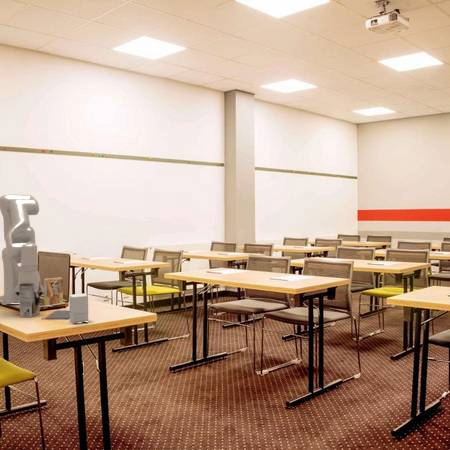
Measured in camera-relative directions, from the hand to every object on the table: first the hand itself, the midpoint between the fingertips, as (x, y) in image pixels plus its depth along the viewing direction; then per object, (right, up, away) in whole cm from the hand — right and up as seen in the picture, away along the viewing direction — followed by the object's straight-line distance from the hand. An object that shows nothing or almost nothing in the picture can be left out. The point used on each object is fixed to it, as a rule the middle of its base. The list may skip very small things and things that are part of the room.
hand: (29, 304), depth 253 cm
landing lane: (+15, -5, 0) cm, 16 cm away
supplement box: (+28, -6, -13) cm, 32 cm away
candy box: (+5, -5, +21) cm, 22 cm away
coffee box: (0, -5, 0) cm, 5 cm away
